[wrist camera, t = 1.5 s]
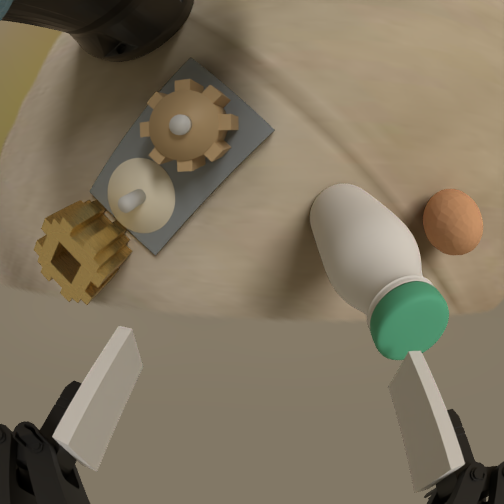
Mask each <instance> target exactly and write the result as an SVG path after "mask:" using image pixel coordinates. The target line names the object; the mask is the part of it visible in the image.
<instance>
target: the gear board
mask: <svg viewBox="0 0 504 504" xmlns="http://www.w3.org/2000/svg"><path fill="white" fill-rule="evenodd" d="M147 104H148V106H147V107H146V108H145V110H144V111H143V112H142V114H141V115H140V116H139V117H138V119H137V120H136V121H135V123H134V124H133V125H132V127H131V128H130V130H129V131H128V132H127V134H126V135H125V136H124V138H123V139H122V141H121V142H120V144H119V145H118V147H117V148H116V150H115V151H114V152H113V154H112V156H111V157H110V159H109V160H108V162H107V163H106V165H105V166H104V168H103V170H102V171H101V173H100V174H99V176H98V178H97V179H96V181H95V183H94V185H93V186H92V188H91V190H90V191H89V192H90V193H91V194H92V195H93V196H94V197H95V198H96V199H97V200H98V201H99V202H100V203H101V204H102V205H103V206H104V207H105V208H106V209H107V210H108V211H109V212H110V213H111V214H112V215H113V216H114V217H115V218H116V219H117V220H118V221H119V222H120V223H121V224H122V225H123V226H124V227H125V228H127V229H128V230H129V231H130V232H131V233H132V234H133V235H134V236H135V237H136V238H137V239H138V240H139V241H140V242H141V243H142V244H144V245H145V246H146V247H147V248H148V249H149V250H150V251H151V252H152V253H153V254H154V255H156V254H157V253H158V252H159V251H160V250H161V249H162V247H163V246H164V245H165V244H166V243H167V242H168V240H169V239H170V238H171V237H172V236H173V235H174V234H175V232H176V231H177V230H178V229H179V228H180V227H181V226H182V225H183V223H184V222H185V221H186V220H187V219H188V218H189V217H190V216H191V215H192V214H193V212H194V211H195V210H196V209H197V208H198V207H199V206H200V205H201V204H202V203H203V202H204V200H205V199H206V198H207V197H208V196H209V195H210V194H211V193H212V192H213V191H214V190H215V189H216V188H217V187H218V186H219V185H220V184H221V183H222V182H223V180H224V179H225V178H226V177H227V176H228V175H229V174H230V173H231V172H232V171H233V170H234V169H235V168H236V167H237V166H238V165H239V164H240V163H241V162H242V161H243V160H244V159H245V158H246V157H247V156H248V155H249V154H250V153H251V152H252V151H253V150H254V149H255V148H256V147H257V146H258V145H259V144H261V143H262V142H263V141H264V140H265V139H266V138H267V137H268V136H269V135H270V134H271V133H272V132H273V131H274V129H273V128H272V127H271V126H270V125H269V124H268V123H267V122H266V121H265V120H264V119H263V118H262V117H260V116H259V115H258V114H257V113H256V112H255V111H254V110H253V109H252V108H251V107H250V106H248V105H247V104H246V103H245V102H244V101H243V100H242V99H241V98H240V97H238V96H237V95H236V94H235V93H234V92H233V91H231V90H230V89H229V88H228V87H227V86H226V85H224V84H223V83H222V82H221V81H220V80H218V79H217V78H216V77H215V76H214V75H212V74H211V73H210V72H209V71H207V70H206V69H205V68H204V67H202V66H201V65H200V64H199V63H197V62H196V61H195V60H194V59H192V58H190V59H189V60H188V61H187V62H186V63H185V64H184V65H183V66H182V67H181V68H180V69H179V70H178V71H177V72H176V73H175V74H174V75H173V77H172V78H171V79H170V80H169V81H168V82H167V83H166V84H165V86H164V87H163V88H162V89H161V90H160V91H159V92H157V91H156V92H155V93H154V95H153V96H152V97H151V98H150V99H149V101H148V102H147Z"/></svg>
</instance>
